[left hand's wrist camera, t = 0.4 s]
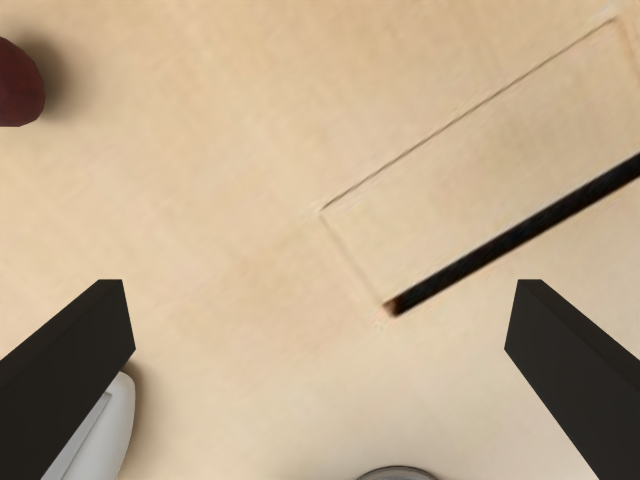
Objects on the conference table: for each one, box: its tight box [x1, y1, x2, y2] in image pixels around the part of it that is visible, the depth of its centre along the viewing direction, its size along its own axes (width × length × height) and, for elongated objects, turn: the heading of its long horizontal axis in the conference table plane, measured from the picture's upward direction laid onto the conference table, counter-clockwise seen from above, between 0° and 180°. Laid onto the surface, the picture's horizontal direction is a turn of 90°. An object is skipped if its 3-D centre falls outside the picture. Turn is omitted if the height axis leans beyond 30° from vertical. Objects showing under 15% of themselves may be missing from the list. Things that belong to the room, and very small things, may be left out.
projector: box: [41, 371, 135, 480], centre depth 44 cm, size 22×23×15 cm
